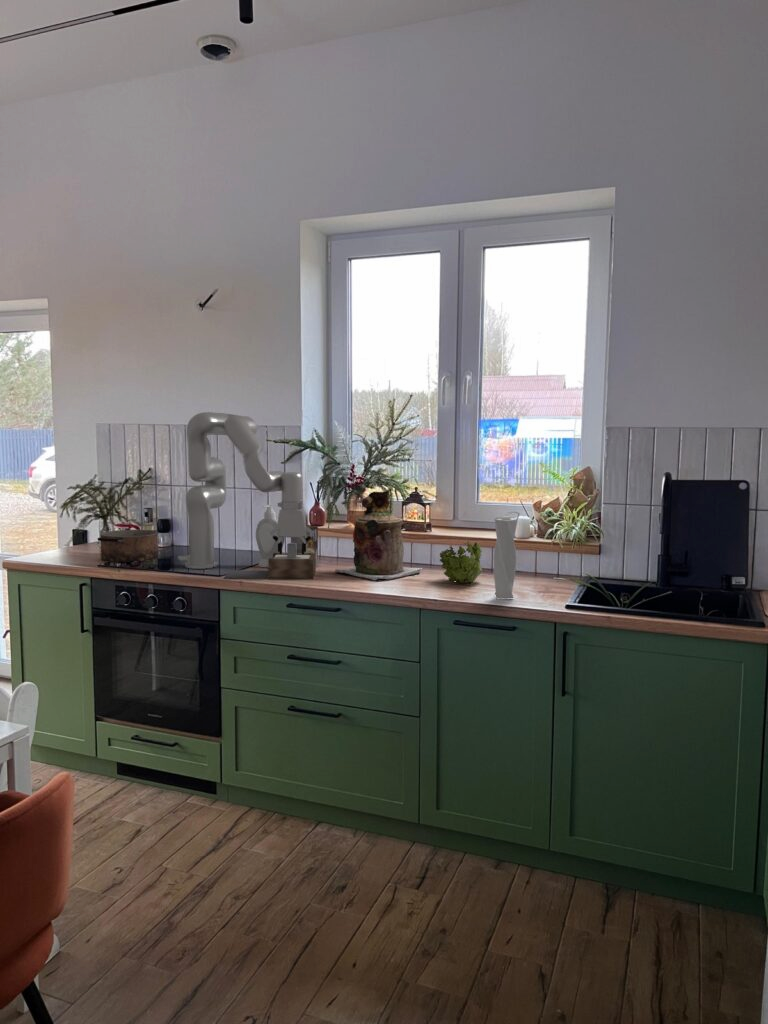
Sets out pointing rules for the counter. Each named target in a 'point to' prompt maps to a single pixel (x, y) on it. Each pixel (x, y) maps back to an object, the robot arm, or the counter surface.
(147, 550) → the cooking pot
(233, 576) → the mat
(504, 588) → the white faceted vase
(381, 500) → the rustic painted jar
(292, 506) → the robot arm
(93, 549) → the counter surface
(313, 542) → the coffee box
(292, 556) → the lid
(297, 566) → the box
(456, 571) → the green rounded bumpy piece
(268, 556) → the soap bottle
